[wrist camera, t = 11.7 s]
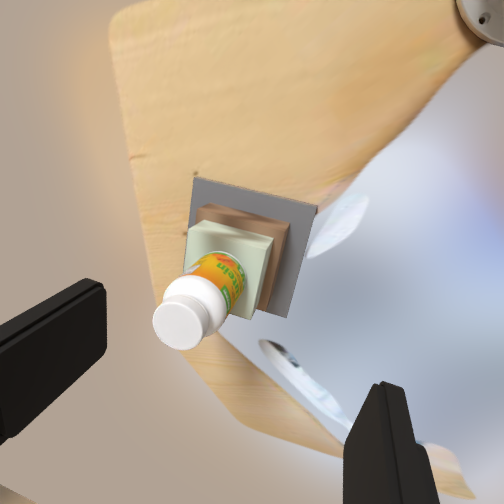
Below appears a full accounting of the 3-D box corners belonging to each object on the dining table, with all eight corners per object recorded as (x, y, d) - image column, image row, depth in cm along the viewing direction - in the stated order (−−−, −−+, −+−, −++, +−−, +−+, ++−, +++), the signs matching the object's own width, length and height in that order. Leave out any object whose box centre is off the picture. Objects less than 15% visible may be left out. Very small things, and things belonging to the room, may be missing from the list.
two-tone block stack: (290, 222, 36) (278, 243, 28) (271, 296, 39) (257, 330, 32) (210, 202, 37) (180, 216, 30) (200, 274, 41) (171, 303, 34)
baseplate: (317, 205, 35) (316, 207, 34) (287, 314, 41) (286, 318, 40) (197, 176, 38) (193, 177, 37) (184, 282, 43) (181, 285, 42)
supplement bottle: (257, 285, 30) (226, 343, 21) (216, 307, 32) (172, 368, 23) (227, 239, 30) (181, 281, 21) (187, 265, 32) (129, 312, 23)
